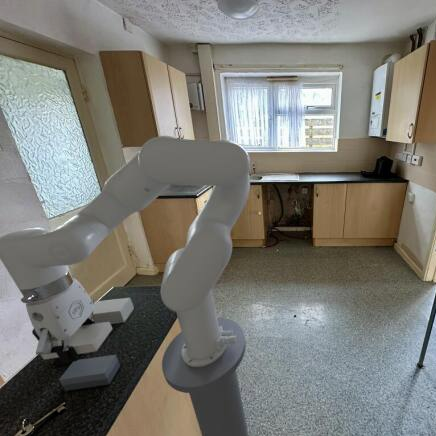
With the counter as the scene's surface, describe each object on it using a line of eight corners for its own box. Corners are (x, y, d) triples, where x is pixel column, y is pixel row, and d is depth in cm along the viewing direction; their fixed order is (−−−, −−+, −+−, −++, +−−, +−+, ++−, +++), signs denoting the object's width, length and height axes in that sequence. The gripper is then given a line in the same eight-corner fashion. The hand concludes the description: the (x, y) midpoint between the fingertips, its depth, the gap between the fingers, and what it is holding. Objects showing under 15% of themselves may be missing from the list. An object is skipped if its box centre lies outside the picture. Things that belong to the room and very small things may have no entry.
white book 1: (132, 302, 82) (130, 297, 81) (122, 316, 76) (120, 310, 75) (98, 306, 81) (95, 301, 80) (85, 321, 75) (82, 315, 74)
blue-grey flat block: (118, 360, 62) (115, 354, 61) (106, 378, 57) (104, 373, 57) (76, 366, 61) (73, 360, 60) (61, 385, 56) (58, 379, 56)
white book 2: (134, 308, 83) (132, 302, 82) (124, 322, 77) (122, 316, 76) (100, 312, 82) (98, 306, 81) (88, 327, 76) (85, 321, 75)
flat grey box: (112, 328, 59) (109, 321, 59) (96, 351, 53) (92, 343, 53) (65, 335, 58) (61, 328, 58) (43, 359, 52) (38, 352, 52)
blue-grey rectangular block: (120, 365, 63) (118, 360, 62) (109, 384, 58) (106, 378, 57) (79, 371, 62) (76, 366, 61) (65, 391, 57) (61, 385, 56)
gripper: (31, 313, 42) (73, 380, 49) (93, 261, 58) (118, 317, 65) (-16, 319, 41) (33, 386, 48) (61, 265, 57) (89, 321, 64)
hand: (82, 346), depth 56 cm, fingers closed on flat grey box, 6 cm apart
